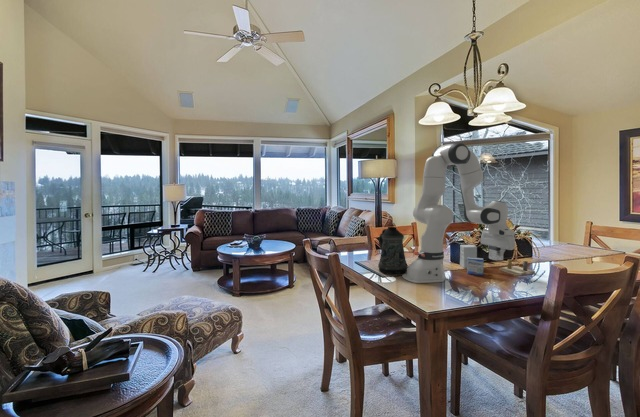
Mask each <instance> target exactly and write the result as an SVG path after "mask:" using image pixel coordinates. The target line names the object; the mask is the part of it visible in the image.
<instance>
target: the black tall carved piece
mask: <svg viewBox="0 0 640 417" xmlns="http://www.w3.org/2000/svg"><path fill="white" fill-rule="evenodd" d="M404 238H405V235H404V234H403V233H402V232H400V231H399V230H398V229H397V227H396V226H395V227H394V226H387V228H384V229H382V231H381V233H380V234H379V237H378V245H379V248H380V251H381V253H380V256H379V261H378V264H377V265H378V266H377V267H378V271H379V272H380V273H381V274H385V275H393V276H394V275H395V276H398V275H403V274H407V268H408V266H409V264H408V263H407V260H406V255H405V250H404V248H405V247H404V242H403V240H404Z"/></svg>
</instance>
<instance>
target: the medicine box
mask: <svg viewBox="0 0 640 417" xmlns="http://www.w3.org/2000/svg"><path fill="white" fill-rule="evenodd" d="M484 259H485V258H482V257H477V258H472V257H468V259H467V268H466V274H468V275H474V276H475V275H476V276H483V275H484V261H485V260H484Z"/></svg>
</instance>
